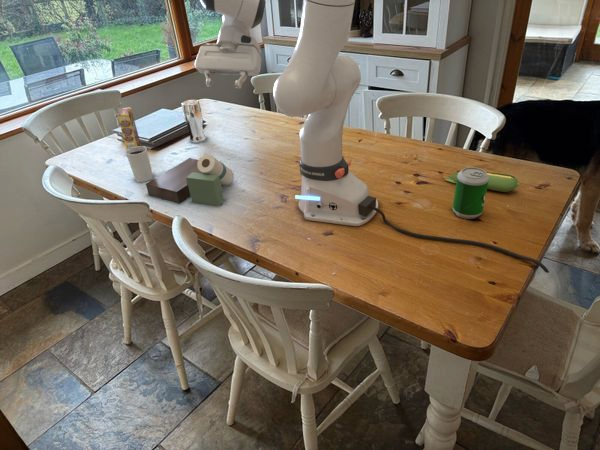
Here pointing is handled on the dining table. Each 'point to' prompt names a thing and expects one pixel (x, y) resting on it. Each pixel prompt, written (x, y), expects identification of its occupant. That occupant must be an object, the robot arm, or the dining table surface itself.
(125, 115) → the candy box
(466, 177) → the soda can
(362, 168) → the dining table surface
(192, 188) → the green block
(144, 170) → the white cup
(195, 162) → the chopping block
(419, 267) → the dining table surface
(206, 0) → the robot arm
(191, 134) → the beer glass
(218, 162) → the paper roll
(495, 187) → the edible corn
